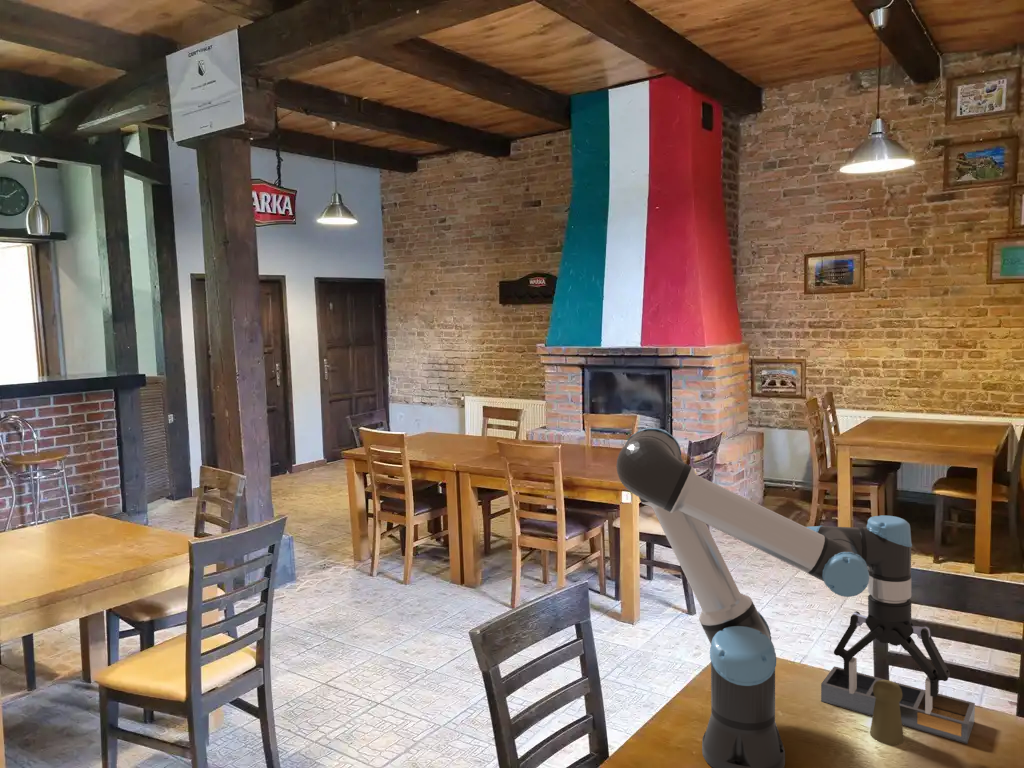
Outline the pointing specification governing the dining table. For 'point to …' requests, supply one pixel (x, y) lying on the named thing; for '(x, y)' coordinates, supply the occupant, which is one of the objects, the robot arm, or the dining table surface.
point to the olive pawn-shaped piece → (887, 713)
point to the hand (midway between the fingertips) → (889, 700)
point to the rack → (903, 705)
